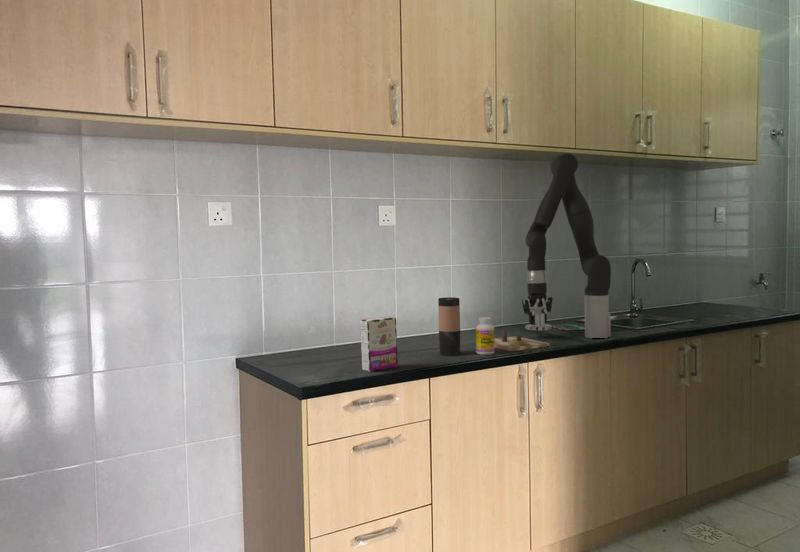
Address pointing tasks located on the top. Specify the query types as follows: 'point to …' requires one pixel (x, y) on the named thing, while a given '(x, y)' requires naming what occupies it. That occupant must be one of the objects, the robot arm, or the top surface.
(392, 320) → the candy bar box
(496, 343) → the carrier board
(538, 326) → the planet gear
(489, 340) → the supplement bottle
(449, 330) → the travel mug
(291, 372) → the top surface
